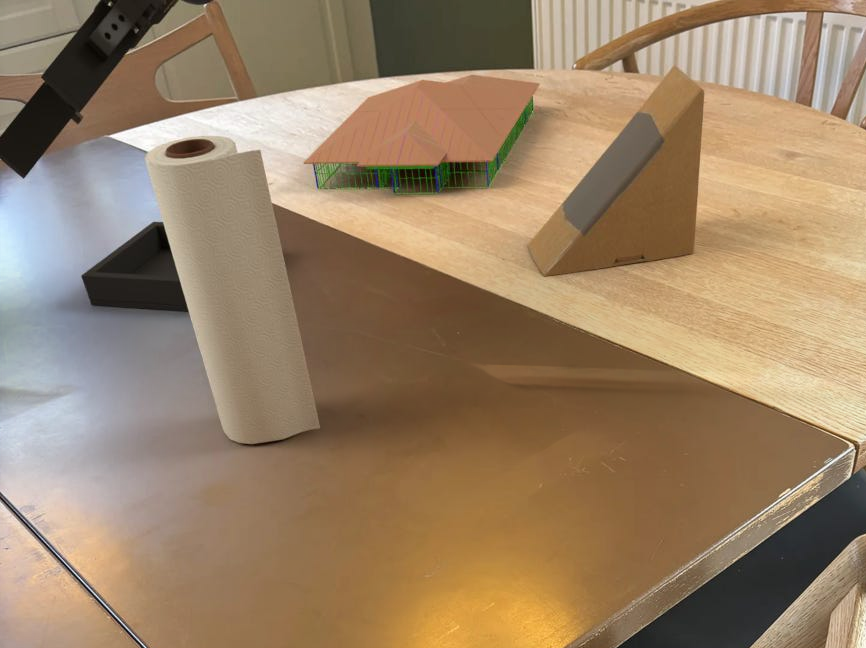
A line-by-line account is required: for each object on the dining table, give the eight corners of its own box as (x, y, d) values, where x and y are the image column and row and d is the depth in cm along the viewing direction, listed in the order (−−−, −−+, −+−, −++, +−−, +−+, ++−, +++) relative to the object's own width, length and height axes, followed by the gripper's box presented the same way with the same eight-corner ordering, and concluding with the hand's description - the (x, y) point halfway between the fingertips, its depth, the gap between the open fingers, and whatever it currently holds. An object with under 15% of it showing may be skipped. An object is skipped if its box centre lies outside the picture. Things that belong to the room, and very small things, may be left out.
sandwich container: (524, 244, 105) (516, 85, 95) (668, 223, 106) (675, 63, 96) (542, 277, 99) (535, 110, 89) (694, 254, 100) (705, 86, 90)
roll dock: (91, 305, 103) (80, 275, 100) (161, 249, 112) (153, 221, 110) (213, 313, 99) (204, 282, 97) (275, 254, 108) (268, 225, 106)
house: (300, 199, 120) (286, 125, 115) (381, 113, 143) (372, 48, 138) (488, 199, 115) (483, 122, 110) (540, 109, 138) (538, 42, 133)
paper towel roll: (210, 427, 83) (128, 149, 68) (274, 399, 85) (207, 126, 71) (255, 461, 78) (177, 172, 64) (320, 430, 81) (260, 145, 66)
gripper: (320, -122, 66) (145, 109, 60) (176, 37, 85) (34, 223, 79) (228, -237, 62) (31, -1, 56) (99, -42, 81) (-57, 147, 75)
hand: (32, 131), depth 68 cm, fingers open, 13 cm apart
